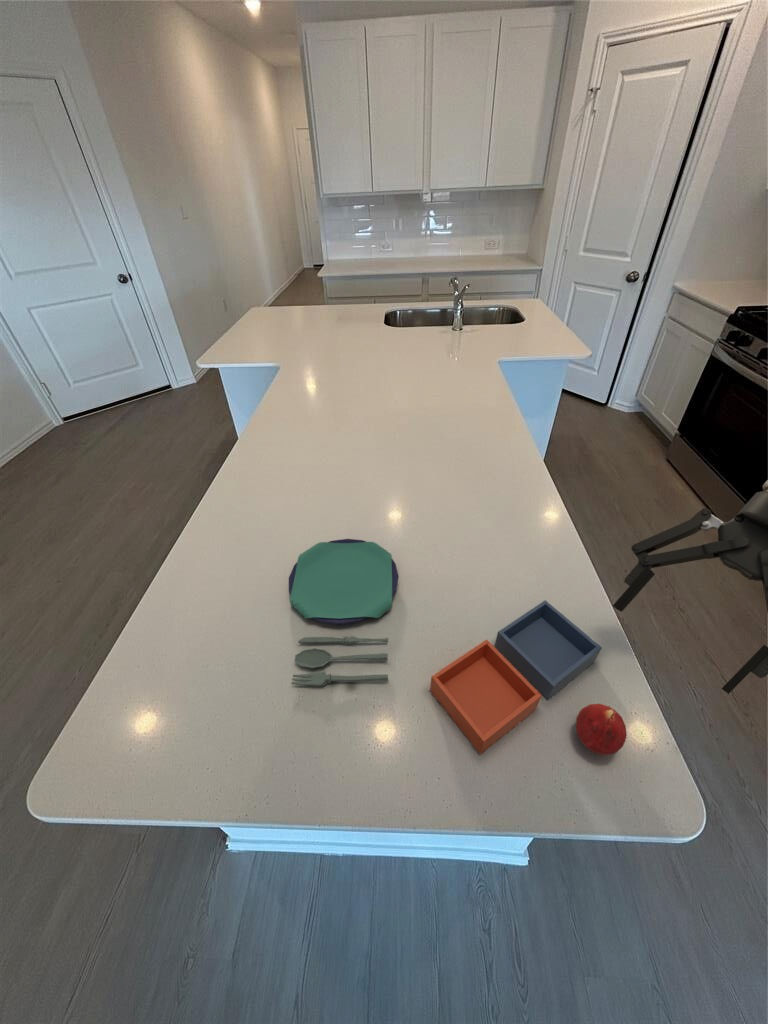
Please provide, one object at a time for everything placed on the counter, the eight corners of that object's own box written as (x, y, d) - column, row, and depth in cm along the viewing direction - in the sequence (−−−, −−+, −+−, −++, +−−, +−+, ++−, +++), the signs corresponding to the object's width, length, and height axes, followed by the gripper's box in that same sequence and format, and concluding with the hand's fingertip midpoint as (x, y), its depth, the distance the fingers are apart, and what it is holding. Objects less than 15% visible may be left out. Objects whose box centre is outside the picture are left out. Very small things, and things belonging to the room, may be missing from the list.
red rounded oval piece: (616, 770, 56) (639, 745, 51) (569, 755, 58) (586, 729, 52) (614, 726, 60) (634, 698, 55) (570, 713, 62) (585, 684, 56)
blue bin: (594, 662, 68) (602, 647, 65) (547, 700, 63) (553, 686, 61) (540, 614, 74) (545, 599, 72) (494, 646, 70) (497, 631, 67)
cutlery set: (397, 544, 88) (397, 536, 86) (401, 687, 65) (401, 679, 64) (298, 546, 88) (296, 537, 87) (268, 688, 65) (265, 681, 64)
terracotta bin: (536, 709, 62) (542, 695, 60) (480, 754, 58) (483, 741, 55) (483, 653, 69) (486, 639, 66) (429, 690, 65) (431, 676, 62)
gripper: (932, 582, 45) (780, 730, 48) (688, 467, 61) (588, 585, 64) (960, 569, 39) (785, 738, 43) (683, 446, 55) (573, 577, 59)
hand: (666, 646), depth 54 cm, fingers open, 13 cm apart
